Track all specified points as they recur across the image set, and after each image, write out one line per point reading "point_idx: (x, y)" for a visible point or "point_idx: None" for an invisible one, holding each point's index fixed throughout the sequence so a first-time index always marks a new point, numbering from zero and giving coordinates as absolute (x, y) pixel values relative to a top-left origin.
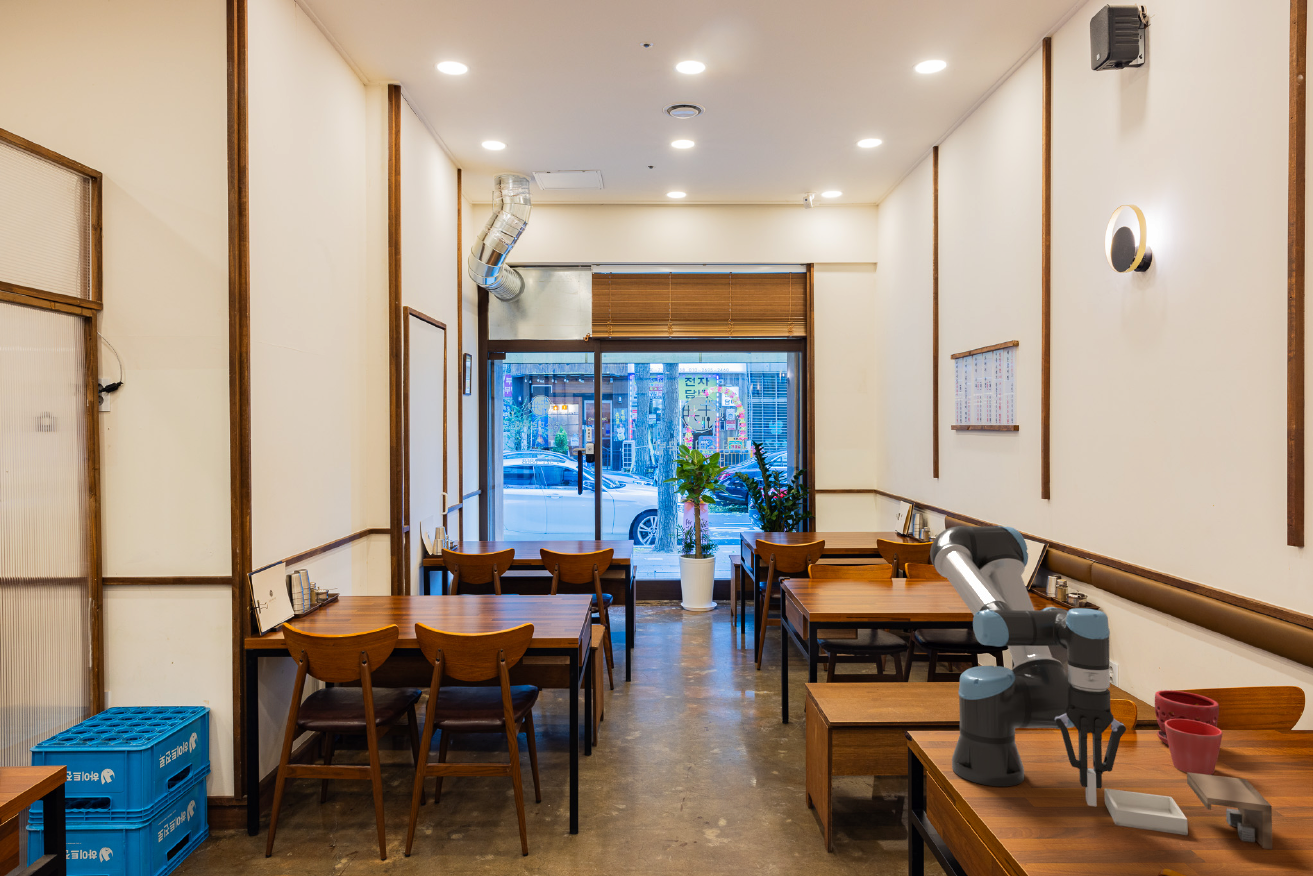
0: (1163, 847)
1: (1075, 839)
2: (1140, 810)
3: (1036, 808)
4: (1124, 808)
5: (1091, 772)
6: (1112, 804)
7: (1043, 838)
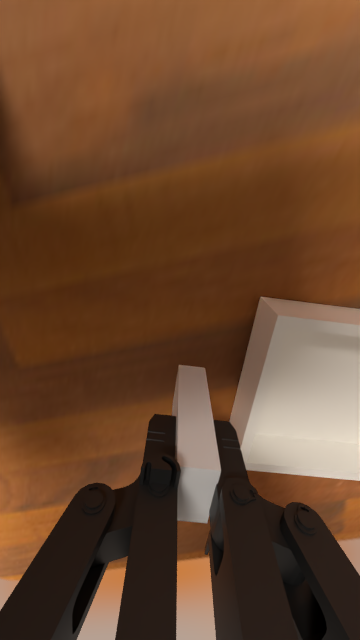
0: (288, 501)
1: None
2: (346, 358)
3: (26, 378)
4: (299, 353)
5: (189, 514)
6: (243, 432)
7: (35, 509)
